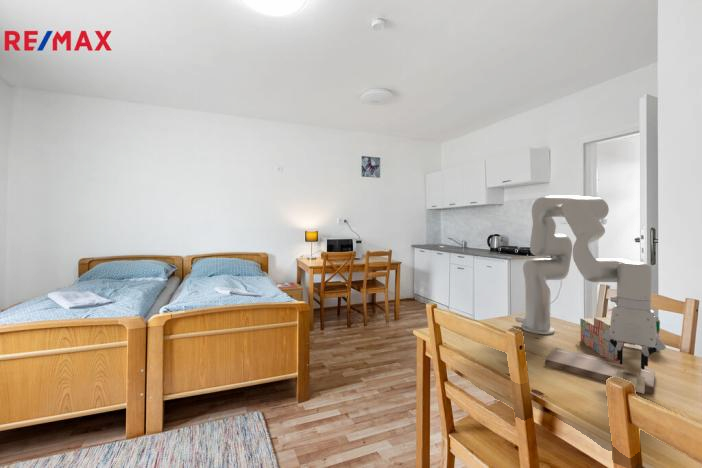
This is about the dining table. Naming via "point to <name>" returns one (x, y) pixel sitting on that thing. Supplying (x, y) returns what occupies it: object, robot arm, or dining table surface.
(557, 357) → the board
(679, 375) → the dining table surface
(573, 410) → the dining table surface
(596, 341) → the stack of blocks
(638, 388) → the beige block
